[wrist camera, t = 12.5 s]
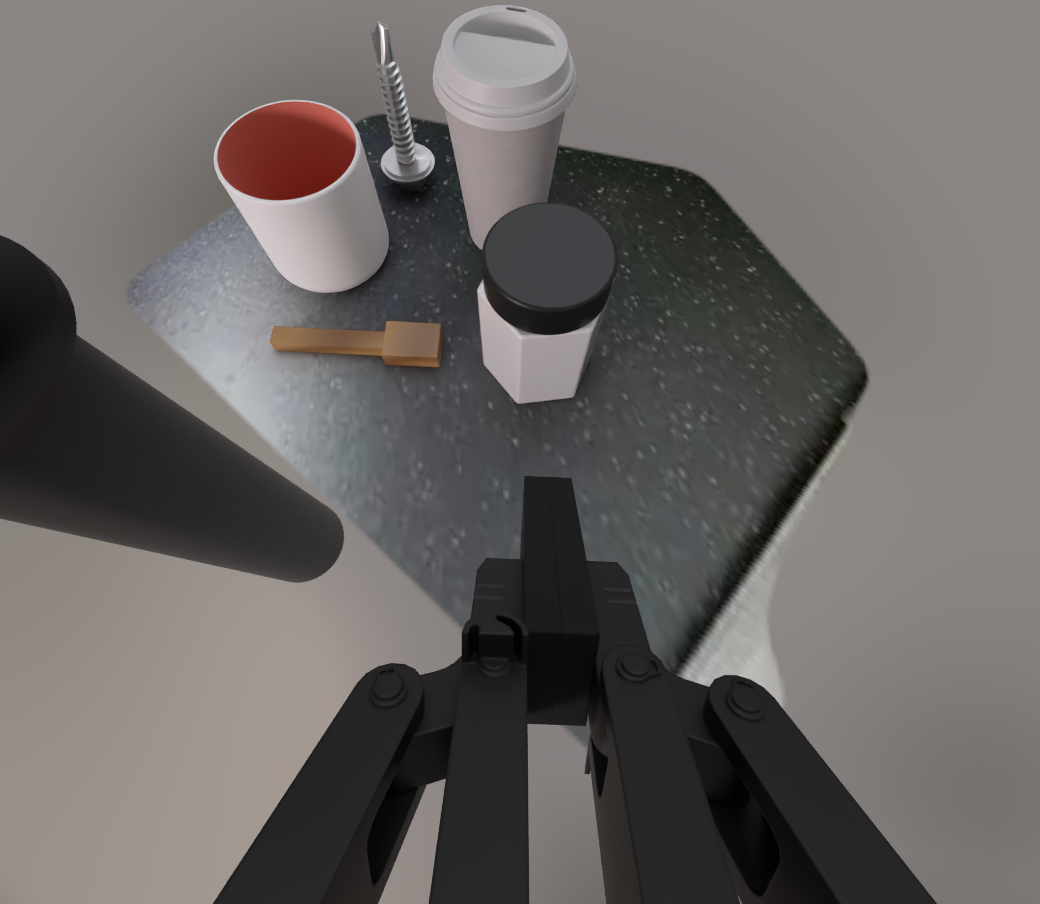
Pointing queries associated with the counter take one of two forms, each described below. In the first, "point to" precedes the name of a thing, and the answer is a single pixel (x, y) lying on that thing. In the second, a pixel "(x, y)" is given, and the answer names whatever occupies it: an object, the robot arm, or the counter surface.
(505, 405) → the counter surface
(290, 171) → the cup
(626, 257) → the counter surface
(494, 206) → the coffee cup
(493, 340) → the jar
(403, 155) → the screw
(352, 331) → the brown wooden bar
